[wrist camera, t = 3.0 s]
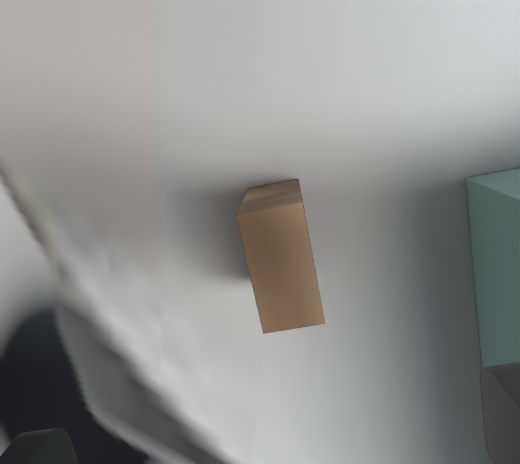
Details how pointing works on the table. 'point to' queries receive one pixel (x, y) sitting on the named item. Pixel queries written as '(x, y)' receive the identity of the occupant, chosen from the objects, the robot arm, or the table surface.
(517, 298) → the box
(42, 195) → the table surface
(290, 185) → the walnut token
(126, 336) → the table surface
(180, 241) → the table surface
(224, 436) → the table surface
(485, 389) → the robot arm
